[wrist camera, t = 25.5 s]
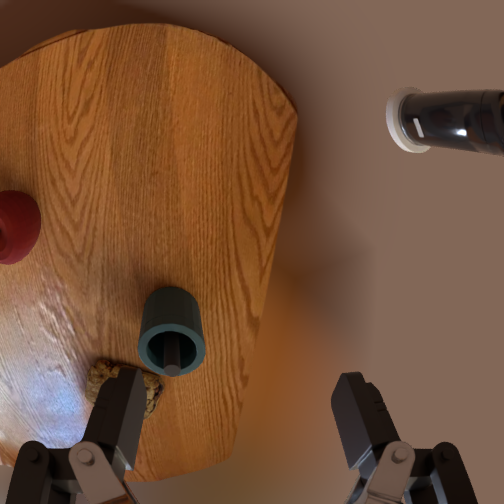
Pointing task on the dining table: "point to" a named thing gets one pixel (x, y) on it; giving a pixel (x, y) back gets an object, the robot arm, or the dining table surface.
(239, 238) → the dining table surface
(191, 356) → the crock
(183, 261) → the dining table surface
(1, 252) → the apple
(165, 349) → the t-shaped mushroom stamp
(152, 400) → the pastry
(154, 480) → the dining table surface
